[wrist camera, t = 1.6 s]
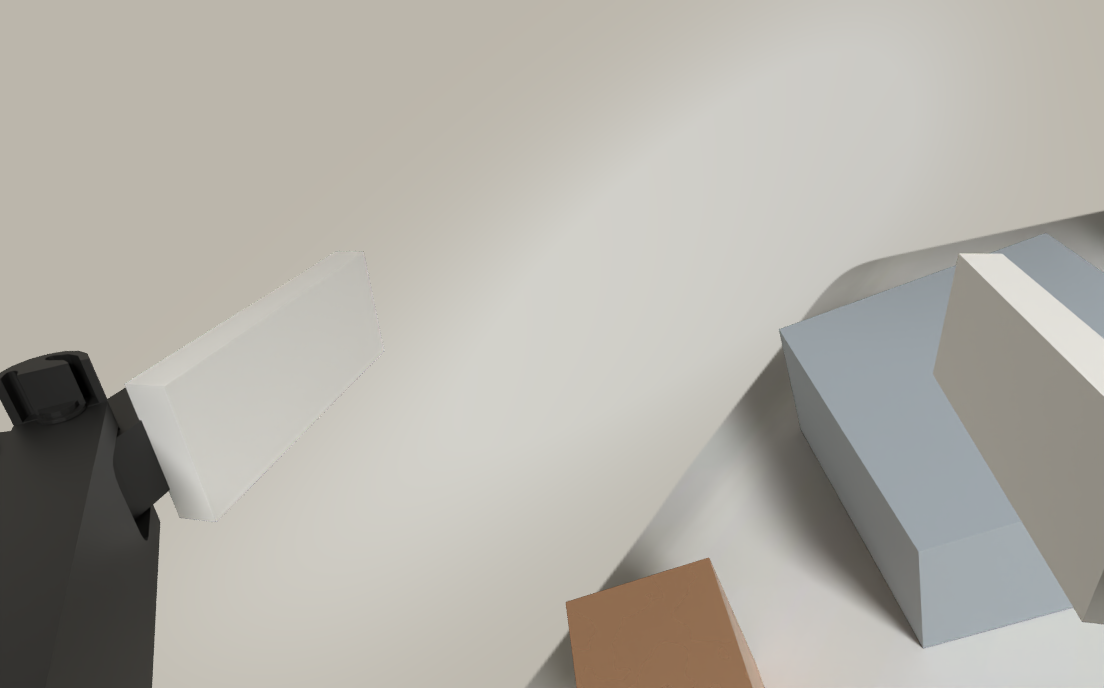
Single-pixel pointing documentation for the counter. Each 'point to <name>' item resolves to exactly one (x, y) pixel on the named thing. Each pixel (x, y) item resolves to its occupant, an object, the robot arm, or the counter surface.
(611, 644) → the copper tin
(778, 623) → the counter surface
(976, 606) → the stand
